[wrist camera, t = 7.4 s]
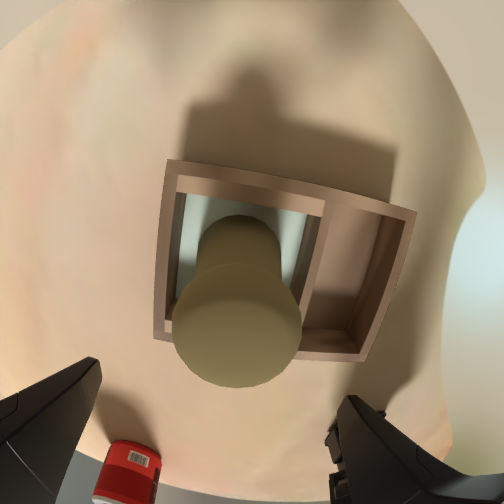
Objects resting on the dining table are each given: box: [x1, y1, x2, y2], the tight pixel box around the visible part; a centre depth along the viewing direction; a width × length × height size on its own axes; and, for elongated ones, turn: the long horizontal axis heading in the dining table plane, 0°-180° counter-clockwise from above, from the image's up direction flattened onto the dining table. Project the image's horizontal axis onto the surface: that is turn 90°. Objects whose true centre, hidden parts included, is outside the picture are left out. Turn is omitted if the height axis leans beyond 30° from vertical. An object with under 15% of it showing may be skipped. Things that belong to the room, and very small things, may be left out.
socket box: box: [153, 159, 417, 362], centre depth 19 cm, size 16×12×4 cm
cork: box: [172, 214, 302, 388], centre depth 14 cm, size 6×6×11 cm
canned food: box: [92, 440, 162, 504], centre depth 23 cm, size 8×8×11 cm
